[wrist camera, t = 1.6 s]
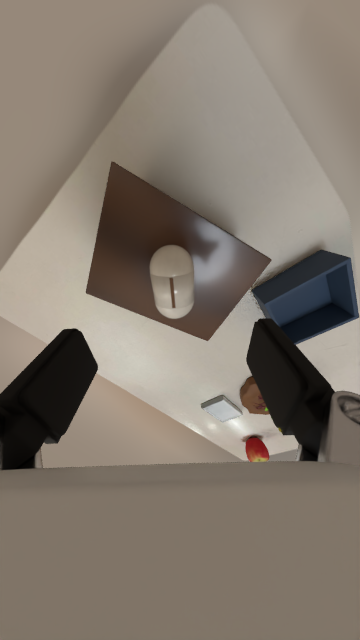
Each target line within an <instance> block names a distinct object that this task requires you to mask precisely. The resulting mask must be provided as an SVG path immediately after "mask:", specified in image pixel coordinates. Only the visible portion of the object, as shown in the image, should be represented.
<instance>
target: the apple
mask: <svg viewBox="0 0 360 640" xmlns="http://www.w3.org/2000/svg"><path fill="white" fill-rule="evenodd" d="M246 454H247V457H248V459H249V461H250V462H266V461H268V460H269V453H268V450H267V448H266V446H265V444H264V443H263V442H262V441H261V440H260V439H258V438H250V439H248V440H247V442H246Z"/></svg>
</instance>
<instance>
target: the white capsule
mask: <svg viewBox="0 0 360 640" xmlns="http://www.w3.org/2000/svg"><path fill="white" fill-rule="evenodd" d="M149 270H150V277H151V283H152V289H153V295H154V301H155V305H156V308H157V309H158V311H159V312H160V313H161V314H162V315H164V316H165V317H167V318H171V319H178V318H182V317H184V316H186V315H187V314H188V313H189V312H190V311H191V309H192V307H193V305H194V299H195V298H194V263H193V259H192V257H191V256H190V254H189V253H188V252H187V251H186V250H185V249H184V248H182V247H180V246H178V245H165V246H163V247H161V248H159V249H158V250H157V251H156V252H155V253H154V254H153V256H152V258H151V261H150V266H149Z"/></svg>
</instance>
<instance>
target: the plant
mask: <svg viewBox="0 0 360 640" xmlns="http://www.w3.org/2000/svg"><path fill="white" fill-rule="evenodd" d="M240 396H241V402H242V405H243V406H244V407H246V408H247V409H248V411H249V413H253V414H265V415H267V414H270V413H269V411H268V409H267V406H266V404H265V402H264V400H263V398H262V395H261V393H260V391H259V389H258V386H257V384H256V382H255V380H254V378H253V377H250V378H248V379H247V381H246V383H245V385H244V386H243V387H242V388H241V391H240ZM271 418H272V417H271ZM279 431H280V432H281V429H280V428H279Z"/></svg>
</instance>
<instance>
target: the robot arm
mask: <svg viewBox="0 0 360 640" xmlns="http://www.w3.org/2000/svg"><path fill="white" fill-rule="evenodd" d="M246 360H247V364H248V367H249V369H250V371H251V373H252V375H253V378H254V380H255V382H256V384H257V386H258V389H259V391H260V393H261V395H262V398H263V400H264V402H265V404H266V406H267V409H268V411H269V413H270V415H271V417H272V420H273V422H274V424H275V425H276V427H277V428H280V429H281V432H282V434H283V435H294V436H295V438H296V440H297V441H298V443H299V445H298V450H297V455H296V460H295V461H278V462H277V461H275V462H274V461H271V462H270V461H269V462H226V463H189V464H154V465H126V466H125V465H123V466H92V467H66V468H43V465H42V457H41V446H42V444H43V443H44V442H45V443H46V444H51V443H58V442H59V440H60V438H61V436H62V435H64V434H65V433H66V431H67V429H68V427H69V425H70V423H71V421H72V419H73V417H74V415H75V413H76V411H77V409H78V408H79V405H80V404H81V401H82V399H83V398H84V396H85V394H86V392H87V390H88V388H89V386H90V384H91V382H92V380H93V378H94V376H95V374H96V372H97V370H98V365H97V363H96V361H95V359H94V357H93V354H92V352H91V350H90V348H89V346H88V344H87V342H86V340H85V338H84V336H83V334H82V332H81V331H79V330H78V329H64V330H62V331H61V332H60V333H59V334H58V335H57V336H56V338H55V339H54V340H53V341H52V342H51V343H50V344H49V345H48V346H47V347H46V348H45V349H44V350H43V351H42V352H41V353H40V354H39V355H38V356H37V357H36V358H35V359H34V360H33V361H32V362H31V363H30V364H29V365H28V366H27V367H26V368H25V369H24V371H22V372H21V373H20V374H19V375H18V376H17V377H16V379H14V381H13V382H12V383H11V384H10V385H9V386H8V387H7V388H6V389H5V390H4V391H3V392H2V393H1V394H0V640H360V395H358V394H355V393H352V392H348V391H337V392H335V391H334V390H333V389H332V388H331V385H330V384H329V383H328V382H327V381H326V379H325V378H324V377H323V376H322V375H321V374H320V373H319V371H318V370H317V369H316V368H315V367H314V366H313V365H312V363H311V362H310V361H309V360H308V359H307V358H306V357H305V356H304V354H303V353H302V352H301V351H300V350H299V349H298V348H297V346H296V345H295V344H294V343H293V342H292V341H291V340H290V338H289V337H288V336H287V335H286V334H285V333H284V332H283V330H282V329H281V328H280V327H279V326H278V325H277V324H276V322H275V321H274V320H273V319H272V318H266V319H259V320H258V322H255V324H254V328H253V332H252V336H251V341H250V345H249V349H248V353H247V358H246Z"/></svg>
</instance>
